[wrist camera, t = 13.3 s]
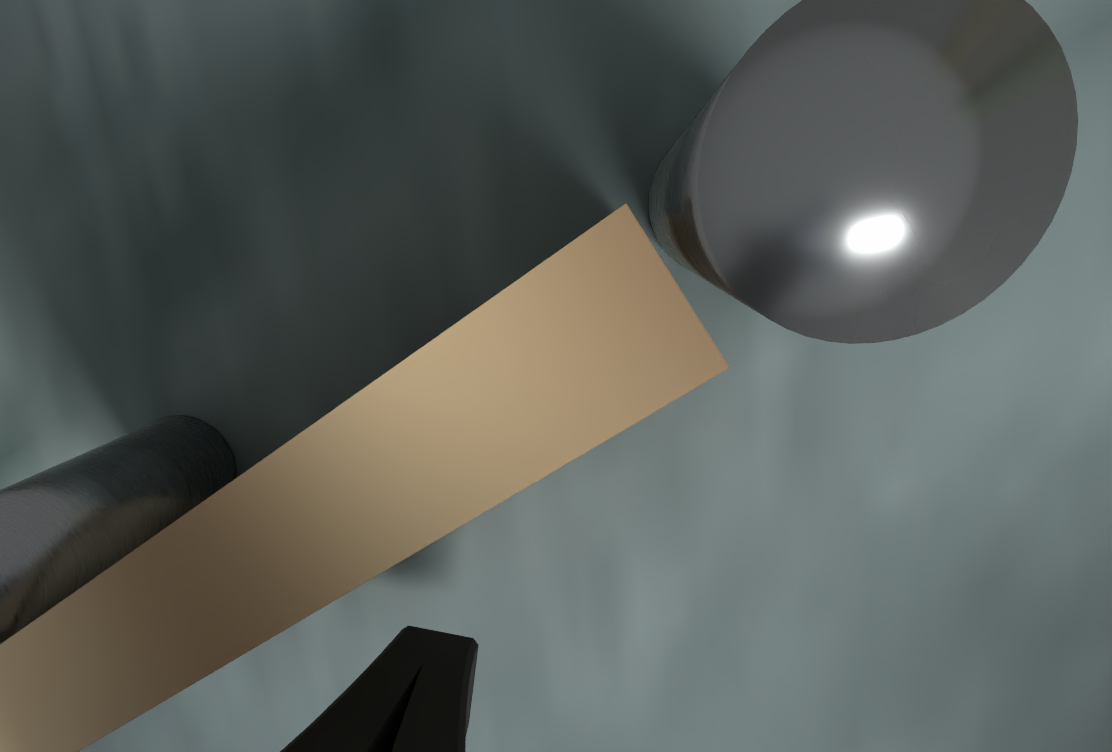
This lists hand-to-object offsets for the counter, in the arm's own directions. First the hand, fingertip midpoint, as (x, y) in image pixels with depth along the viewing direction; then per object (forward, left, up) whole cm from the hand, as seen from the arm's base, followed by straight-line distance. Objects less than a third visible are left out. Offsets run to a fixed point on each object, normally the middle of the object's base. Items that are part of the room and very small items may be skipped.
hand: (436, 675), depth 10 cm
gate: (+2, +4, -2) cm, 5 cm away
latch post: (-3, +6, -2) cm, 7 cm away
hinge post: (+9, +4, -2) cm, 10 cm away
